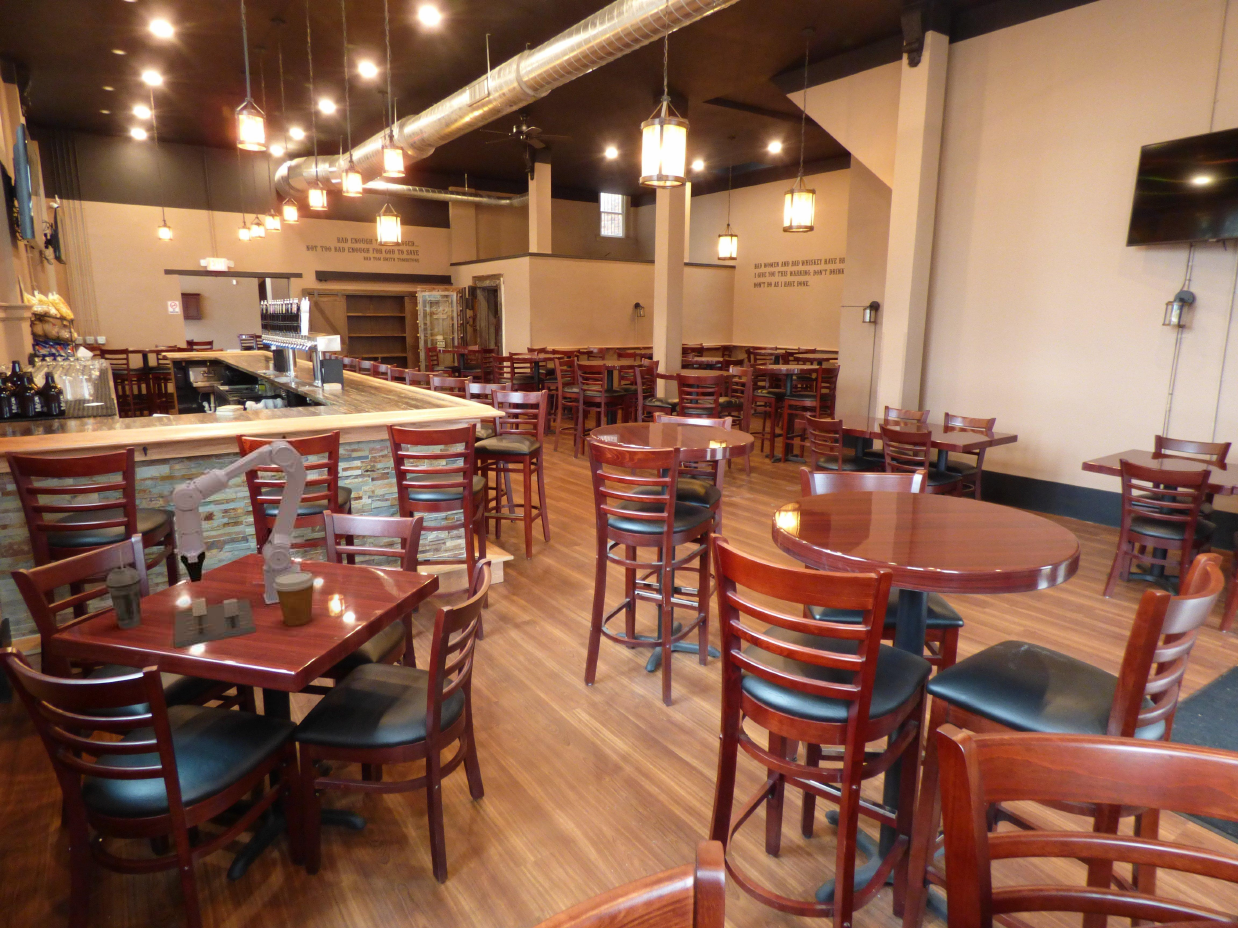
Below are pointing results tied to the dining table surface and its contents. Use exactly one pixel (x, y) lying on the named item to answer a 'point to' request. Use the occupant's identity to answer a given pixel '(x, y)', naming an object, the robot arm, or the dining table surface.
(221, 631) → the mixing console
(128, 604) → the beverage cup
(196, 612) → the fader cap ivory
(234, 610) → the fader cap grey
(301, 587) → the disposable coffee cup
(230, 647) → the dining table surface
